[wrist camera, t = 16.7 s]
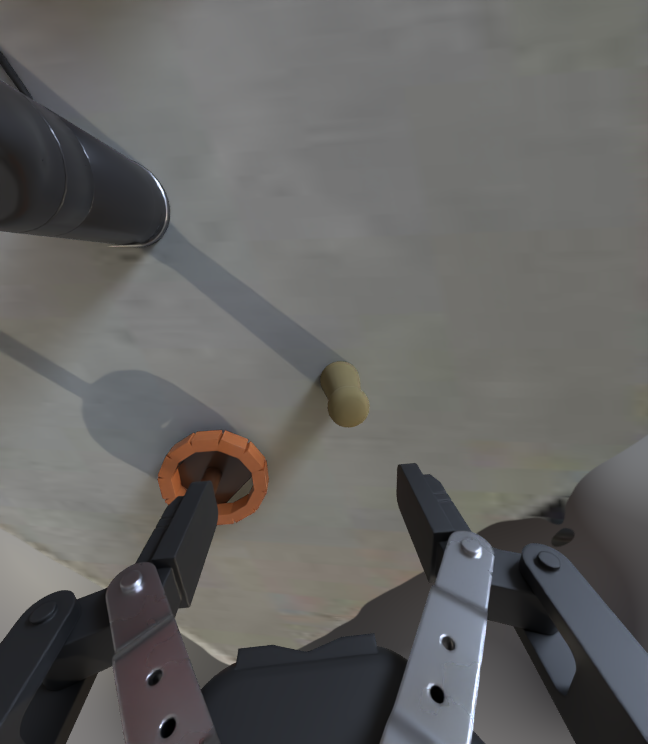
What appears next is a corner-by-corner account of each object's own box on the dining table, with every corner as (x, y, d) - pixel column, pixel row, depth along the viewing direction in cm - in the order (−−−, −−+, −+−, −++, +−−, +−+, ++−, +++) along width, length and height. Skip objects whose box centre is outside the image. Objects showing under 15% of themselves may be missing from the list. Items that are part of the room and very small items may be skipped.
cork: (322, 400, 47) (327, 438, 37) (318, 363, 45) (322, 393, 34) (360, 395, 47) (376, 432, 37) (358, 359, 45) (374, 386, 35)
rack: (172, 472, 49) (123, 551, 36) (208, 431, 47) (169, 498, 34) (222, 502, 52) (194, 585, 39) (258, 464, 50) (242, 539, 36)
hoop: (152, 493, 49) (144, 506, 46) (186, 414, 45) (179, 423, 42) (245, 524, 52) (242, 536, 50) (284, 453, 48) (283, 463, 45)
